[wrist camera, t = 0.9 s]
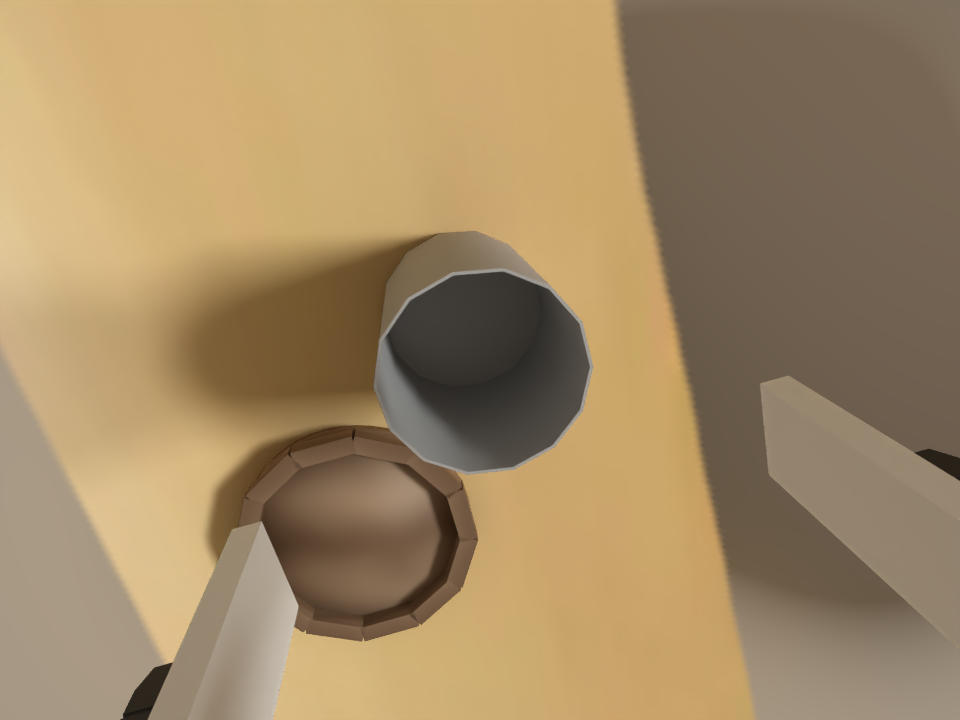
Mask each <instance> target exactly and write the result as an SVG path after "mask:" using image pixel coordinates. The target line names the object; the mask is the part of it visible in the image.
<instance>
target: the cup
mask: <svg viewBox="0 0 960 720" xmlns="http://www.w3.org/2000/svg"><path fill="white" fill-rule="evenodd" d="M592 369H593V364H592V360H591V356H590V351H589V347H588V343H587V339H586V335H585V331H584V327H583V322H582V321H581V320H580V319H579V318H578V316H577V315H576V314H575V313H574V312H573V311H572V310H571V308H570V307H569V306H568V305H567V304H566V303H565V302H564V300H563V299H562V298H561V297H560V296H559V295H558V294H557V292H556V291H555V290H554V289H553V288H552V287H551V286H550V285H549V284H548V283H547V282H546V281H545V280H544V279H543V278H542V277H541V276H540V275H539V274H538V273H537V272H536V271H535V270H534V269H533V268H532V267H531V266H530V265H529V264H528V263H527V262H526V261H525V260H524V259H523V258H522V257H521V256H520V255H519V254H518V253H517V252H516V251H515V250H514V249H513V248H512V247H511V246H510V245H509V244H507V243H504V242H502V241H499V240H497V239H494V238H492V237H489V236H487V235H484V234H482V233H479V232H477V231H467V232H453V233H440V234H437V235H435V236H433V237H432V238H430V239H428V240H427V241H425V242H423V243H421V244H420V245H418V246H416V247H415V248H413V249H411V250H409V251H408V252H406V254H405V255H404V257H403V258H402V260H401V261H400V263H399V264H398V266H397V267H396V269H395V270H394V272H393V273H392V275H391V276H390V278H389V279H388V281H387V282H386V290H385V298H384V305H383V313H382V321H381V329H380V337H379V345H378V354H377V362H376V370H375V378H374V386H373V388H374V390H375V393H376V396H377V398H378V401H379V404H380V406H381V409H382V411H383V414H384V417H385V419H386V422H387V425H388V427H389V430H390V431H391V432H392V433H393V434H394V435H395V436H396V437H397V438H399V439H400V440H401V441H402V442H403V443H404V444H405V445H406V446H407V447H408V448H410V449H411V450H412V451H413V452H414V453H415V454H416V455H417V456H418V457H419V458H421V459H422V460H423V461H425V462H428V463H431V464H434V465H438V466H441V467H444V468H447V469H451V470H454V471H457V472H460V473H464V474H467V475H469V474H478V473H487V472H497V471H506V470H514V469H516V468H518V467H519V466H521V465H523V464H525V463H527V462H528V461H530V460H532V459H534V458H536V457H538V456H539V455H541V454H543V453H545V452H547V451H548V450H550V449H552V448H554V447H555V446H556V445H557V443H558V442H559V441H560V439H561V438H562V437H563V436H564V434H565V433H566V432H567V430H568V429H569V428H570V427H571V425H572V424H573V423H574V422H575V420H576V419H577V418H578V416H579V415H580V414H581V413H582V411H583V408H584V404H585V399H586V395H587V391H588V386H589V382H590V378H591V374H592Z"/></svg>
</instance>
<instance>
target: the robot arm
mask: <svg viewBox="0 0 960 720" xmlns="http://www.w3.org/2000/svg"><path fill="white" fill-rule="evenodd" d="M760 389H761V398H762V409H763V420H764V429H765V441H766V451H767V461H768V471H769V475H770V476H771V477H772V478H773V479H774V480H775V481H776V482H777V483H779V484H780V485H781V486H782V487H783V488H784V489H785V490H786V491H787V492H788V493H789V494H791V495H792V496H793V497H794V498H795V499H796V500H797V501H798V502H799V503H800V504H801V505H802V506H803V507H805V508H806V509H807V510H808V511H809V512H810V513H811V514H812V515H813V516H814V517H816V518H817V519H818V520H819V521H820V522H821V523H822V524H823V525H824V526H825V527H826V528H827V529H829V530H830V531H831V532H832V533H833V534H834V535H835V536H836V537H837V538H838V539H839V540H841V541H842V542H843V543H844V544H845V545H846V546H847V547H848V548H849V549H850V550H851V551H852V552H854V553H855V554H856V555H857V556H858V557H859V558H860V559H861V560H862V561H863V562H864V563H866V564H867V565H868V566H869V567H870V568H871V569H872V570H873V571H874V572H875V573H876V574H877V575H879V576H880V577H881V578H882V579H883V580H884V581H885V582H886V583H887V584H888V585H890V586H891V587H892V588H893V589H894V590H895V591H896V592H897V593H898V594H899V595H900V596H901V597H903V598H904V599H905V600H906V601H907V602H908V603H909V604H910V605H911V606H912V607H914V609H916V610H917V611H918V612H919V613H920V614H921V615H922V616H923V617H924V618H925V619H926V620H928V621H929V622H930V623H931V624H932V625H933V626H934V627H935V628H936V629H937V630H938V631H940V632H941V633H942V634H943V635H944V636H945V637H946V638H947V639H948V640H950V642H951V643H953V644H954V645H955V646H956V647H957V648H958V649H959V650H960V458H958V457H955V456H951V455H948V454H945V453H941V452H938V451H935V450H932V449H926V450H922V451H919V452H915V453H913V452H912V451H910V450H908V449H907V448H905V447H904V446H902V445H900V444H899V443H897V442H896V441H894V440H892V439H891V438H889V437H887V436H886V435H884V434H882V433H881V432H879V431H877V430H876V429H874V428H873V427H871V426H869V425H868V424H866V423H865V422H863V421H861V420H860V419H858V418H856V417H855V416H853V415H852V414H850V413H848V412H847V411H845V410H843V409H842V408H840V407H838V406H837V405H835V404H834V403H832V402H830V401H829V400H827V399H826V398H824V397H822V396H821V395H819V394H817V393H816V392H814V391H812V390H810V389H809V388H808V387H806V386H804V385H803V384H801V383H799V382H798V381H796V380H795V379H793V378H791V377H790V376H786V377H782V378H779V379H775V380H771V381H768V382H764V383H760ZM298 607H299V606H298V603H297V601H296V599H295V596H294V594H293V592H292V590H291V587H290V585H289V583H288V580H287V578H286V576H285V574H284V571H283V569H282V567H281V564H280V562H279V560H278V557H277V555H276V553H275V551H274V548H273V546H272V544H271V541H270V539H269V537H268V535H267V532H266V530H265V528H264V525H263V523H262V521H261V522H257V523H253V524H250V525H246V526H242V527H239V528H235V529H232V531H231V533H230V535H229V537H228V540H227V542H226V544H225V546H224V549H223V551H222V553H221V555H220V558H219V560H218V562H217V564H216V567H215V569H214V571H213V573H212V576H211V578H210V580H209V582H208V585H207V587H206V589H205V591H204V594H203V596H202V598H201V600H200V603H199V605H198V607H197V610H196V612H195V614H194V616H193V619H192V621H191V623H190V625H189V628H188V630H187V632H186V634H185V637H184V639H183V641H182V643H181V646H180V648H179V650H178V652H177V655H176V657H175V659H174V661H173V663H169V664H166V665H162V666H158V667H155V668H154V669H153V670H152V671H151V672H150V673H149V675H148V676H147V677H146V678H145V679H144V680H143V682H142V683H141V684H140V685H139V686H138V687H137V689H136V690H135V691H134V693H133V695H132V697H131V699H130V701H129V703H128V705H127V707H126V709H125V712H124V713H123V719H121V720H273V717H274V713H275V708H276V704H277V699H278V695H279V691H280V686H281V682H282V677H283V673H284V669H285V664H286V660H287V655H288V651H289V647H290V642H291V638H292V633H293V629H294V625H295V620H296V616H297V611H298Z"/></svg>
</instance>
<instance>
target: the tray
mask: <svg viewBox="0 0 960 720" xmlns="http://www.w3.org/2000/svg"><path fill="white" fill-rule="evenodd" d="M261 521H262V523H263V525H264V528H265V530H266V532H267V535H268V537H269V539H270V541H271V544H272V546H273V548H274V551H275V553H276V555H277V557H278V560H279V562H280V564H281V567H282V569H283V571H284V574H285V576H286V578H287V580H288V583H289V585H290V587H291V590H292V592H293V594H294V596H295V599H296V601H297V603H298V606H299V607H298V611H297V616H296V620H295V625H294V627H296V628H297V629H299V630H300V631H302V632H304V631H305V630H306V629H307V630H306V634H313V635H320V636H327V637H334V638H341V639H348V640H355V641H362V639H363V638H364V640H365V641H368V640H371V639H375V638H378V637H382V636H385V635H389V634H393V633H396V632H400V631H403V630H407V629H410V628H414V627H417V626H419V623H420V624H421V625H422V624H423V623H424V622H425V621H426V620H427V619H428V618H430V617H431V616H432V615H433V614H434V613H435V612H436V611H437V610H439V609H440V608H441V607H442V606H443V605H444V604H445V603H447V602H448V601H449V600H450V599H451V598H452V597H453V596H455V595H456V594H457V593H458V592H459V591H460V590H461V588H462V587H463V584H464V581H465V578H466V575H467V572H468V569H469V566H470V563H471V560H472V557H473V554H474V551H475V548H476V545H477V542H478V539H477V538H478V536H477V530H476V526H475V523H474V519H473V516H472V512H471V509H470V505H469V500H468V496H467V493H466V491H465V488H464V485H463V482H462V480H461V478H460V477H459V476H458V475H457V473H456V472H455V471H454V470H451V469H447V468H444V467H441V466H438V465H434V464H431V463H428V462H425V461H423V460H422V459H421V458H419V457H418V456H417V455H416V454H415V453H414V452H413V451H412V450H411V449H410V448H408V447H407V446H406V445H405V444H404V443H403V442H402V441H401V440H400V439H399V438H397V437H396V436H395V435H394V434H393V433H392V432H391V431H390V430H389V429H387V428H382V427H375V426H345V427H337V428H332V429H328V430H324V431H321V432H318V433H315V434H312V435H309V436H307V437H305V438H303V439H301V440H299V441H297V442H295V443H294V444H292V445H291V446H289V447H288V448H286V449H284V450H283V451H282V452H281V453H280V454H278V455H277V456H276V457H275V458H274V459H273V460H272V461H271V462H270V463H269V464H268V465H267V467H266V468H265V469H264V470H263V471H262V473H261V475H260V476H259V478H258V479H257V480H256V481H255V482H254V483H253V484H252V485H251V486H250V487H249V489H248V491H247V493H246V495H245V497H244V501H243V506H242V511H241V516H240V521H239V526H238V528H239V527H242V526H246V525H250V524H253V523H257V522H261Z"/></svg>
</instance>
